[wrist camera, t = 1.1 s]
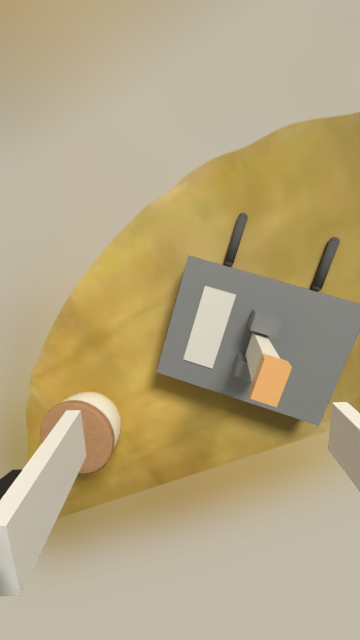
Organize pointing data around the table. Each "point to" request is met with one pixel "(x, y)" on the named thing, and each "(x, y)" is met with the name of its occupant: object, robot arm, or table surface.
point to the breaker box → (263, 317)
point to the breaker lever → (266, 370)
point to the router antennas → (322, 268)
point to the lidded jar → (89, 426)
